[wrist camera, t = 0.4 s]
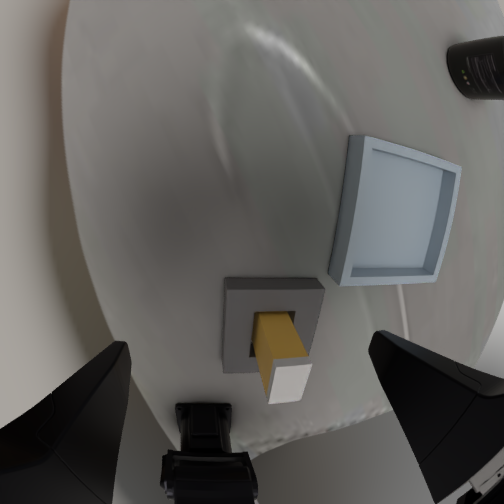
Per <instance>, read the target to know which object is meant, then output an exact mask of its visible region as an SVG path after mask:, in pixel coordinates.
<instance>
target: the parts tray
mask: <svg viewBox="0 0 504 504" xmlns="http://www.w3.org/2000/svg"><path fill="white" fill-rule="evenodd" d="M461 169H462V167H460V166H458V165H456V164H453V163H450V162H448V161H445V160H443V159H440V158H437V157H434V156H432V155H429V154H426V153H423V152H420V151H417V150H414V149H411V148H408V147H405V146H401V145H398V144H395V143H391V142H388V141H384V140H381V139H377V138H373V137H369V136H365V135H359V136H349V143H348V152H347V160H346V169H345V176H344V184H343V191H342V198H341V204H340V211H339V217H338V223H337V229H336V234H335V240H334V245H333V251H332V256H331V261H330V266H329V271H328V274H329V275H330V276H331V277H332V278H333V279H334V281H335V282H336V283H337V284H338V285H339V286H365V285H391V284H412V283H430V282H436V280H437V277H438V274H439V270H440V267H441V264H442V260H443V257H444V253H445V250H446V246H447V242H448V238H449V234H450V230H451V226H452V221H453V217H454V212H455V207H456V202H457V196H458V190H459V184H460V177H461Z"/></svg>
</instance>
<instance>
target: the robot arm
mask: <svg viewBox="0 0 504 504" xmlns="http://www.w3.org/2000/svg"><path fill="white" fill-rule="evenodd" d="M368 352H369V355H370V358H371V361H372V363H373V366H374V368H375V371H376V373H377V376H378V379H379V381H380V384H381V386H382V388H383V390H384V392H385V394H386V396H387V398H388V400H389V402H390V404H391V406H392V408H393V410H394V412H395V414H396V416H397V418H398V420H399V422H400V425H401V426H402V429H403V431H404V433H405V435H406V437H407V439H408V442H409V444H410V446H411V448H412V451H413V453H414V455H415V457H416V459H417V462H418V464H419V467H420V469H421V471H422V474H423V476H424V479H425V481H426V483H427V486H428V488H429V490H430V493H431V496H432V498H433V501H434V503H435V504H437V503H439V502H440V501H442V500H443V499H445V498H446V497H448V496H449V495H451V494H452V493H454V492H455V491H456V490H458V489H459V488H460V487H462V486H463V485H464V484H466V483H467V482H469V483H470V485H471V486H472V488H471V489H470V490H469V491H467V492H466V493H465V494H464V495H462V496H461V497H460V498H458V499H457V503H456V504H504V379H502V378H499V377H496V376H493V375H490V374H487V373H484V372H481V371H478V370H476V369H473V368H470V367H468V366H465V365H463V364H461V363H458V362H456V361H455V362H454V360H451V359H449V358H447V357H444V356H442V355H440V354H437V353H435V352H433V351H431V350H428V349H426V348H424V347H421V346H419V345H417V344H415V343H412V342H410V341H408V340H406V339H403V338H401V337H399V336H397V335H394V334H392V333H390V332H388V331H385V330H381V331H376V332H375V333H374V334H373V337H372V340H371V343H370V345H369V349H368ZM130 375H131V357H130V353H129V348H128V344H127V343H126V342H125V341H114V342H113V343H112V344H110V345H109V346H108V347H107V348H105V349H104V350H103V351H102V352H100V353H99V354H98V355H97V356H96V357H94V358H93V359H92V360H90V361H89V362H88V363H87V364H85V365H84V366H83V367H82V368H81V369H79V370H78V371H77V372H76V373H74V374H73V375H72V376H71V377H69V378H68V379H67V380H66V381H65V382H63V383H62V384H61V385H60V386H59V387H57V388H56V389H55V390H54V391H52V394H51V393H50V394H49V395H47V396H46V397H45V398H44V399H43V400H41V401H40V402H39V403H38V404H36V405H35V406H34V407H32V408H31V409H29V410H28V411H26V412H25V413H24V414H23V415H21V416H19V417H18V418H16V419H15V420H13V421H11V422H10V423H8V424H7V425H5V426H4V427H2V428H1V429H0V504H112V499H113V489H114V482H115V474H116V467H117V460H118V453H119V447H120V442H121V436H122V430H123V425H124V420H125V415H126V410H127V404H128V396H129V385H130ZM175 410H176V416H177V421H178V426H179V431H180V433H181V451H173V450H169V449H168V454H166V455H163V456H162V471H161V478H160V486H161V487H162V488H163V489H164V490H165V493H166V494H167V498H168V500H175V504H255V503H254V500H256V499H257V496H258V484H257V478H256V475H255V472H254V469H253V467H252V463H251V460H250V457H249V454H248V452H241V453H232V450H231V443H230V436H229V433H230V427H231V412H232V407H231V405H230V404H176V405H175Z"/></svg>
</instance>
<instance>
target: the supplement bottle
mask: <svg viewBox="0 0 504 504" xmlns="http://www.w3.org/2000/svg"><path fill="white" fill-rule="evenodd" d="M447 59H448V67H449V71H450V74H451V76H452V78H453V80H454V82H455V84H456V86H457V87H458V88H459V90H460V91H461V92H462V93H463V94H464V95H465V96H467V97H469V98H471V99H484V100H504V36H497V37H490V38H484V39H479V40H473V41H468V42H463V43H459V44H455V45H453V46H452V47H451V48H450V49H449V51H448V57H447Z"/></svg>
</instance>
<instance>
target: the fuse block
mask: <svg viewBox="0 0 504 504" xmlns="http://www.w3.org/2000/svg"><path fill="white" fill-rule="evenodd" d="M324 292H325V288H324V287H323V286H322V284H321V283H320V282H319V281H318V279H317V278H225V294H224V315H223V338H222V366H223V373H250V372H260V371H259V367H258V363H257V359H256V355H255V351H254V347H253V344H251V336H252V327H253V318H254V312H265V311H287V312H288V314H289V317H290V319H291V321H292V323H293V325H294V327H295V329H296V331H297V333H298V335H299V337H300V339H301V342H302V344H303V346H304V348H305V350H306V352H307V354H308V356H309V353H310V349H311V345H312V341H313V338H314V334H315V330H316V326H317V322H318V318H319V314H320V310H321V305H322V301H323V297H324Z"/></svg>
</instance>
